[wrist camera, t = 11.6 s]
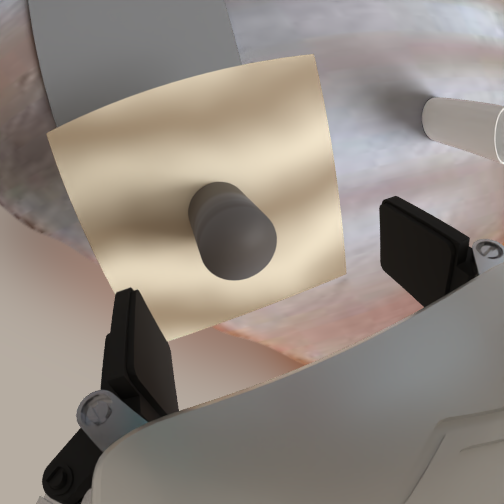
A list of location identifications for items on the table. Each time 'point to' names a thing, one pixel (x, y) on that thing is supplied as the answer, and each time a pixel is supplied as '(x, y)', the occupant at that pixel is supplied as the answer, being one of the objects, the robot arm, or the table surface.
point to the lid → (209, 191)
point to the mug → (466, 126)
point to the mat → (125, 48)
